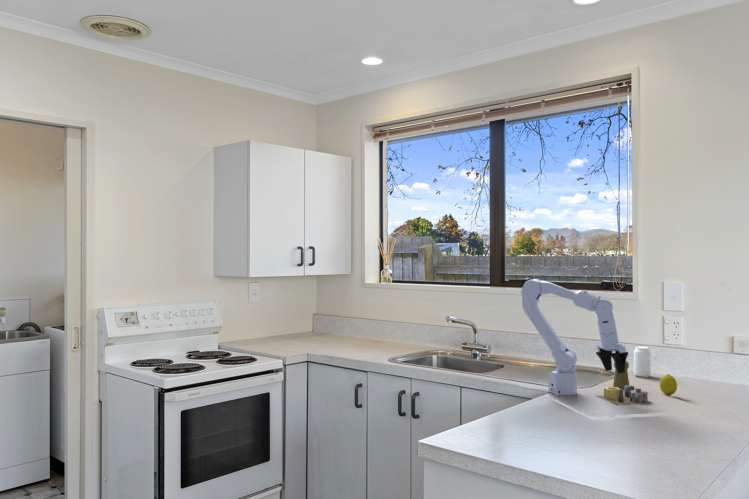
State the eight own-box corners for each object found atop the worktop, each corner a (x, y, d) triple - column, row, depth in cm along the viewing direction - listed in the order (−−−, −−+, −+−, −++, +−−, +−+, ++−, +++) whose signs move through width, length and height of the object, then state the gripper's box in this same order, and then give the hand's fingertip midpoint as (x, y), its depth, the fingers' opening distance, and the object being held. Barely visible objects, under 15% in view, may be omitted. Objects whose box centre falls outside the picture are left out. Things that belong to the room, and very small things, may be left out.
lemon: (673, 394, 216) (673, 372, 216) (679, 398, 210) (679, 375, 210) (657, 394, 216) (657, 372, 216) (663, 398, 211) (663, 375, 211)
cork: (632, 391, 221) (632, 361, 221) (616, 391, 221) (616, 361, 221) (626, 387, 227) (626, 358, 227) (610, 387, 227) (610, 358, 227)
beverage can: (633, 374, 251) (633, 345, 251) (649, 375, 249) (649, 346, 249) (635, 377, 245) (634, 348, 245) (651, 378, 243) (651, 348, 243)
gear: (609, 399, 206) (609, 390, 206) (600, 395, 211) (600, 387, 211) (624, 398, 207) (624, 389, 207) (614, 394, 212) (614, 386, 212)
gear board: (616, 408, 198) (616, 393, 198) (595, 398, 211) (595, 384, 211) (653, 405, 201) (653, 390, 201) (629, 396, 214) (629, 382, 214)
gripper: (630, 332, 204) (637, 371, 203) (606, 330, 219) (613, 367, 218) (612, 335, 203) (619, 375, 202) (589, 333, 217) (595, 370, 216)
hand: (614, 371), depth 210 cm, fingers open, 7 cm apart
